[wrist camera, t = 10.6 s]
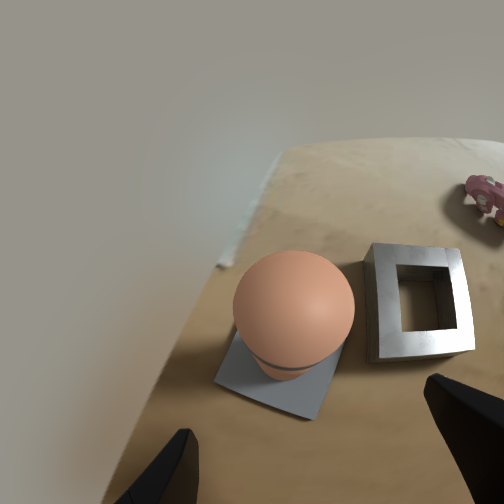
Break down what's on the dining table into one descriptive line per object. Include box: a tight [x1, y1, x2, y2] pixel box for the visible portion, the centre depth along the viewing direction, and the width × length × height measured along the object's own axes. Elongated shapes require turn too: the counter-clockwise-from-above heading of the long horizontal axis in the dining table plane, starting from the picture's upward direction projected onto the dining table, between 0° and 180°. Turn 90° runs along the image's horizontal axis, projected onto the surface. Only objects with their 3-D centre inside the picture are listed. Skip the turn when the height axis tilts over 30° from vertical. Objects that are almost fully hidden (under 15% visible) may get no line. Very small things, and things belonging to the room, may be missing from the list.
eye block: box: [363, 243, 475, 363], centre depth 19 cm, size 9×9×3 cm
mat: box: [213, 330, 345, 420], centre depth 19 cm, size 8×8×1 cm
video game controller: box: [465, 175, 504, 227], centre depth 22 cm, size 10×5×7 cm, turn 53°
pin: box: [233, 251, 355, 381], centre depth 14 cm, size 4×4×12 cm
